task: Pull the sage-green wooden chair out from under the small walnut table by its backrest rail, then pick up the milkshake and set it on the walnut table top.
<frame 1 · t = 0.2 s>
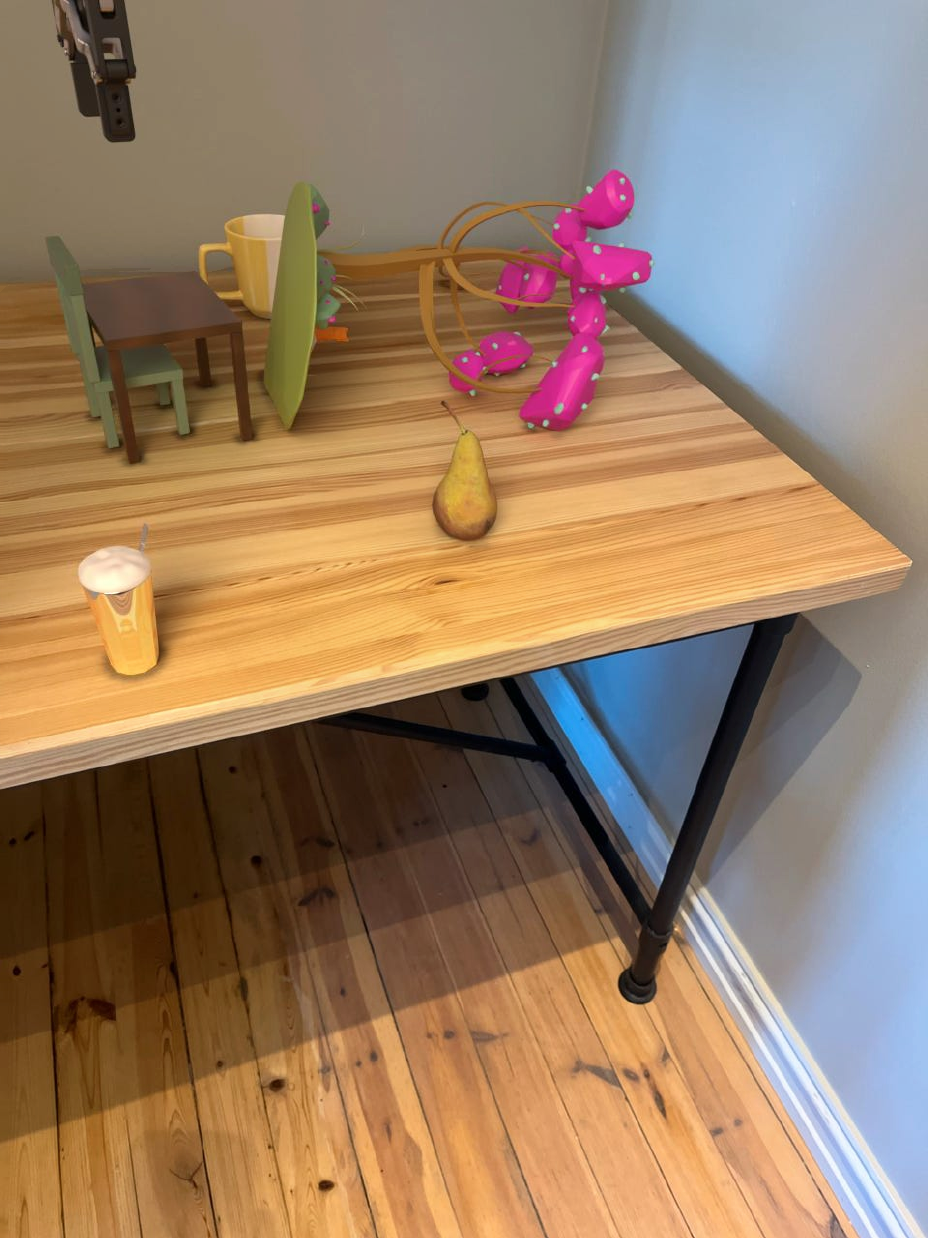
hand: (107, 127, 71), 28 cm above the table, tool pointing down, fingers open, 8 cm apart
milkshake: (140, 659, 65), on the table
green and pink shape: (443, 398, 100), on the table
mug: (260, 313, 116), on the table
table: (172, 420, 92), on the table
chair: (122, 340, 85), point 9 cm above the table, slide at 0.0 cm
fruit: (463, 535, 80), on the table
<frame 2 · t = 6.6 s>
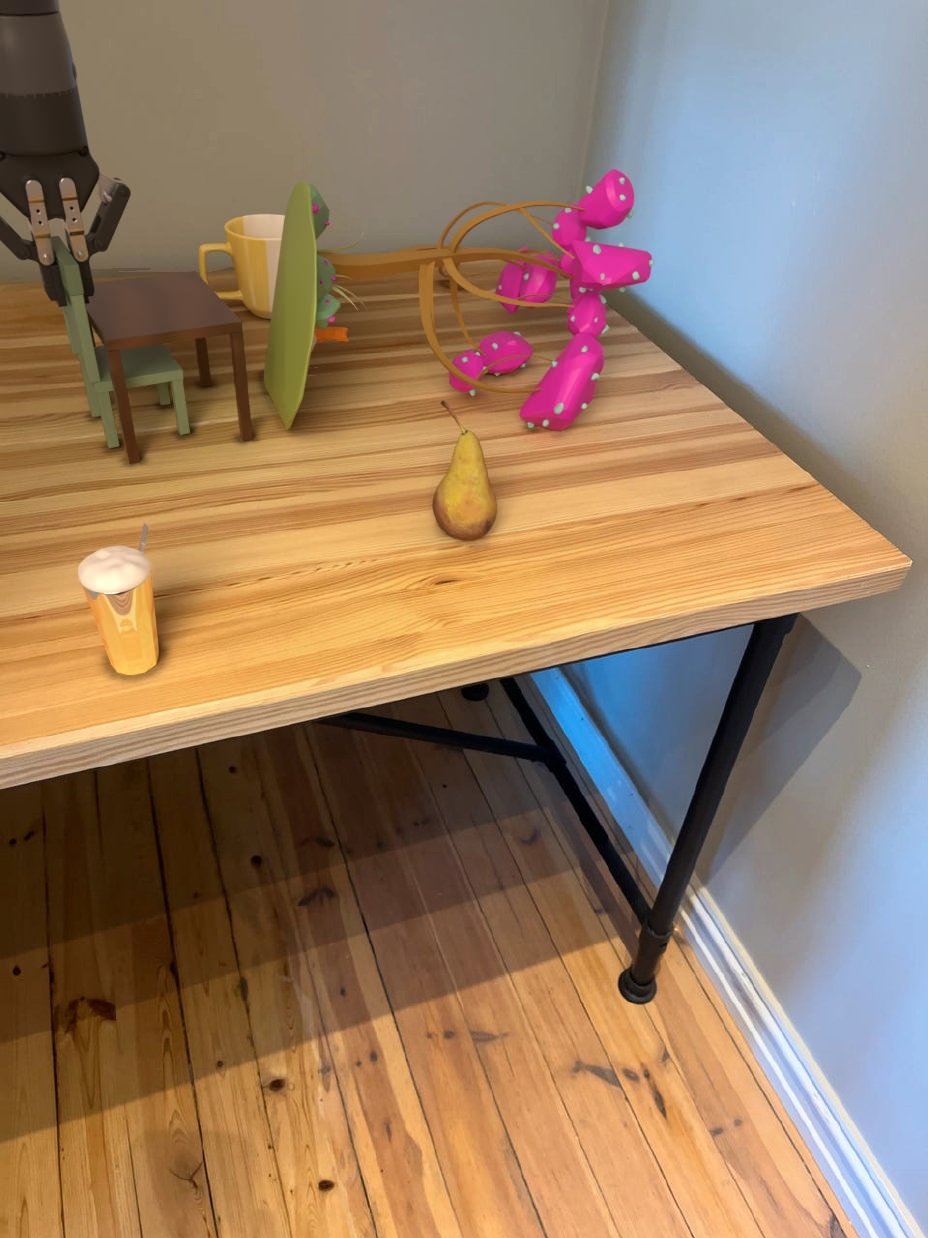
hand: (71, 301, 81), 13 cm above the table, tool pointing down, fingers closed
chair: (122, 340, 85), point 9 cm above the table, slide at 0.0 cm, touching gripper
everything else where it was.
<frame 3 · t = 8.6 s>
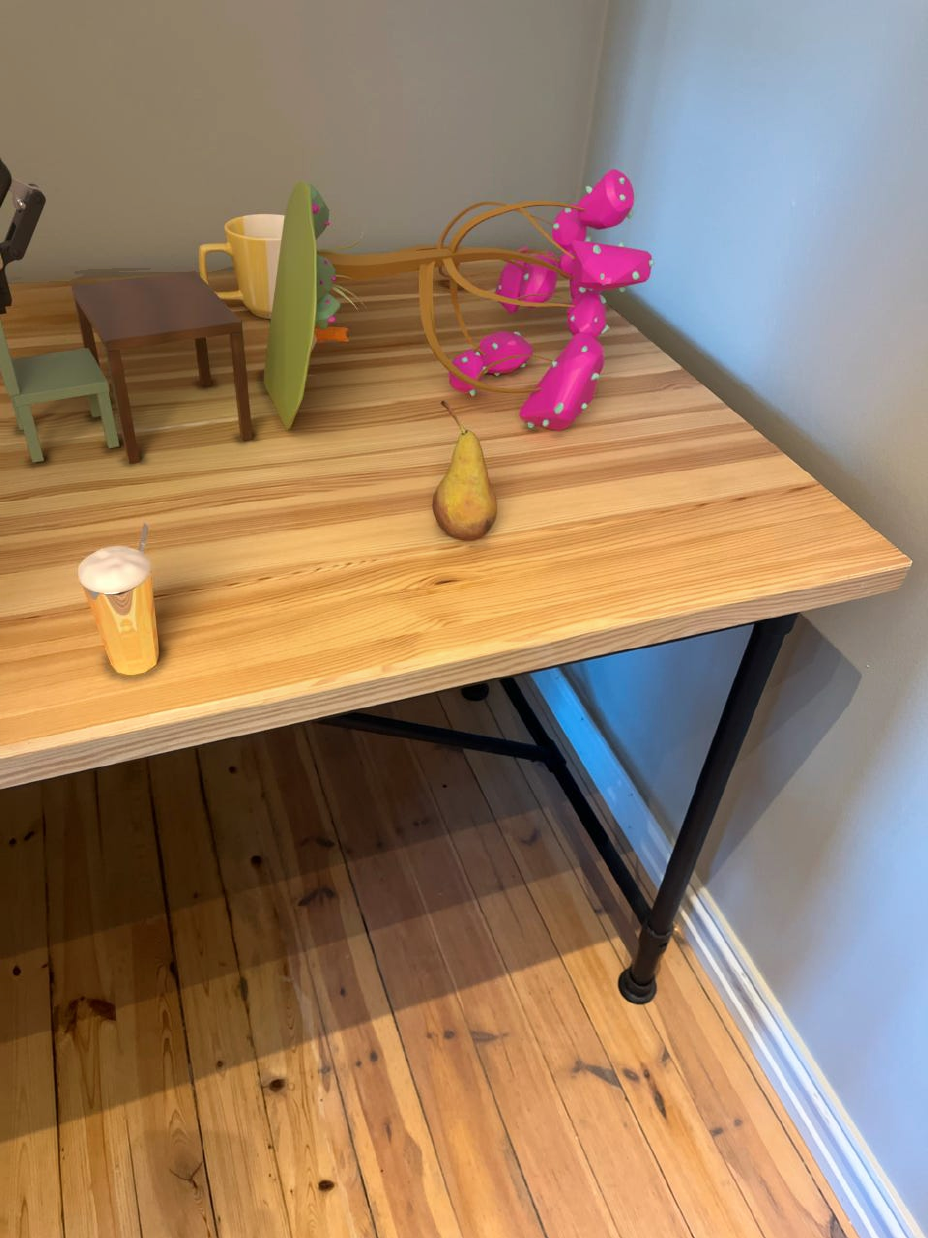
chair: (45, 351, 83), point 9 cm above the table, slide at 6.8 cm, touching gripper
everything else where it was.
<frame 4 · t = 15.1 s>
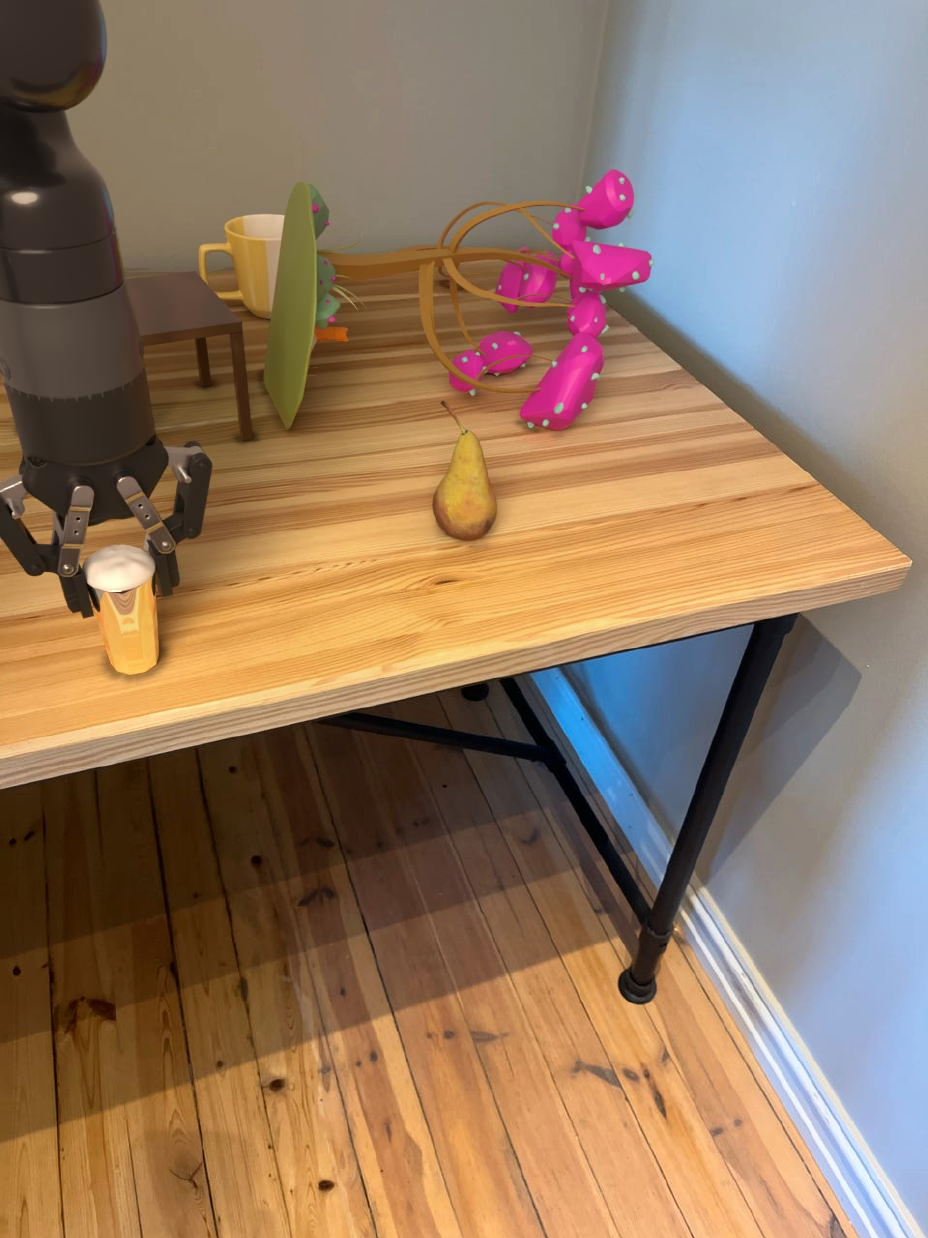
hand: (125, 599, 62), 5 cm above the table, tool pointing down, fingers closed on milkshake, 4 cm apart
milkshake: (140, 659, 65), on the table, touching gripper
chair: (44, 351, 83), point 9 cm above the table, slide at 6.8 cm
everything else where it was.
when the fingers open (17 cm above the table, at t = 22.5 s): milkshake stays where it is, point 12 cm above the table.
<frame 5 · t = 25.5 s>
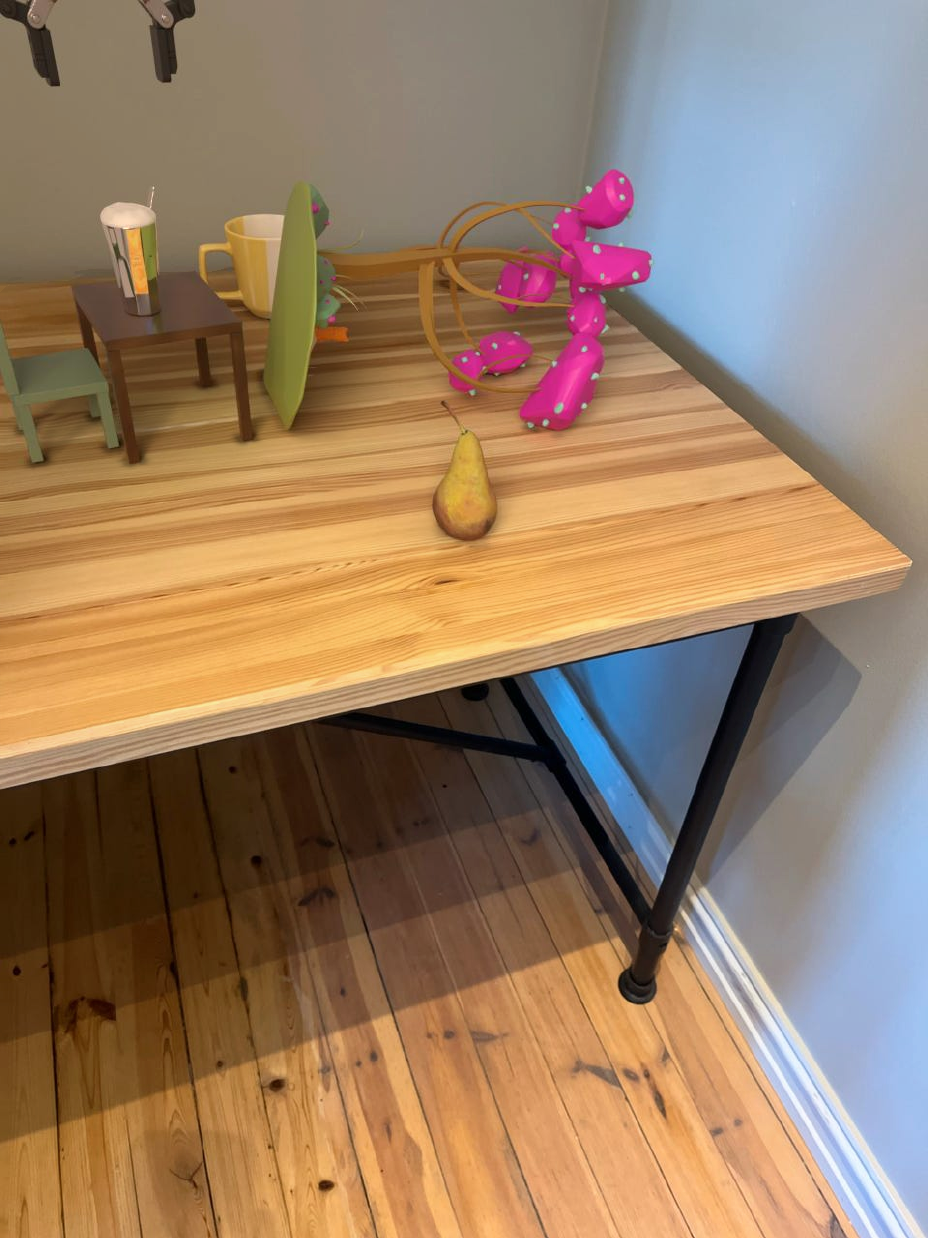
hand: (109, 82, 72), 30 cm above the table, tool pointing down, fingers open, 8 cm apart
milkshake: (147, 310, 84), point 12 cm above the table
everything else where it was.
at the end: chair slide at 6.8 cm; milkshake inside the target area on the table (1.4 cm from its centre), point 11.8 cm above the table's base; milkshake tilted 0° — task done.
